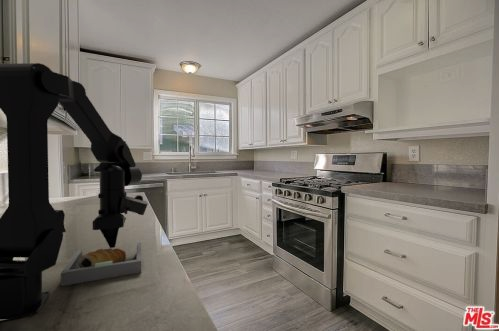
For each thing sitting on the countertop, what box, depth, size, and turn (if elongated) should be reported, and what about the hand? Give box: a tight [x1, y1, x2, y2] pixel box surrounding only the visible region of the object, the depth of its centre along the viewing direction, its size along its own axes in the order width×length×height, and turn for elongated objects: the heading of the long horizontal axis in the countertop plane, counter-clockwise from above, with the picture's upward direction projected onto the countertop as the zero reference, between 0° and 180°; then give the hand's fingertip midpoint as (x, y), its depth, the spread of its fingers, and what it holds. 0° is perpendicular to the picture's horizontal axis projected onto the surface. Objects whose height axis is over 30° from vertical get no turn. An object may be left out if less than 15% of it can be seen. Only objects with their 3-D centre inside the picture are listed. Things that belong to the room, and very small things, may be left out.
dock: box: [60, 242, 142, 287], centre depth 54 cm, size 13×14×3 cm
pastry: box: [78, 248, 127, 268], centre depth 55 cm, size 9×7×4 cm
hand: (112, 247), depth 62 cm, fingers closed
